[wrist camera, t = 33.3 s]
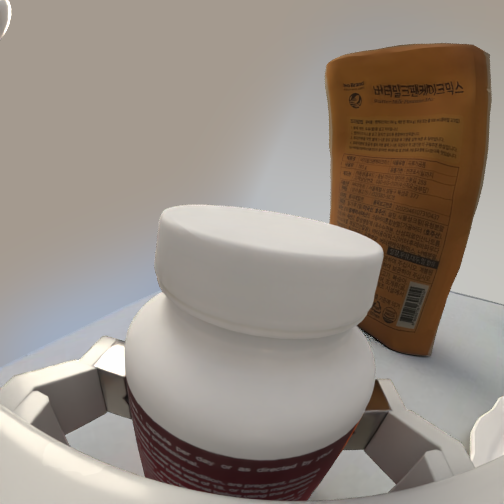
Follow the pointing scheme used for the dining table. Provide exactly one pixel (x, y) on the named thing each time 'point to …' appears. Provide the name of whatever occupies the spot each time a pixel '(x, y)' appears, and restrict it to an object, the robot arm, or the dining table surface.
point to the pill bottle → (251, 351)
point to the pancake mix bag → (409, 173)
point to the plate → (488, 435)
